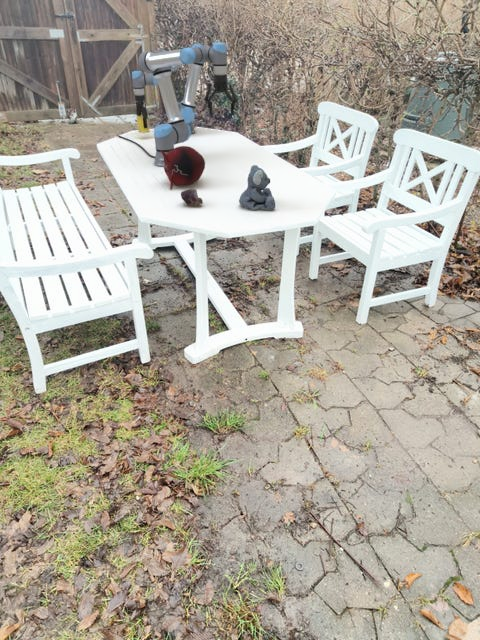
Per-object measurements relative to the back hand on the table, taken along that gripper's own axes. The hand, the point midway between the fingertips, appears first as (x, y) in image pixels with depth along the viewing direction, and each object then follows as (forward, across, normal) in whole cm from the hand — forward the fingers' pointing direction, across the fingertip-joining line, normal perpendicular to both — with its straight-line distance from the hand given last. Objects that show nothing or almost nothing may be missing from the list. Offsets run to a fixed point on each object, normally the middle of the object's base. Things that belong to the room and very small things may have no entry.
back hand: (143, 127), depth 348 cm
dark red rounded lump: (+9, +117, -25) cm, 120 cm away
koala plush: (+9, +171, -12) cm, 171 cm away
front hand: (-23, +104, +9) cm, 106 cm away
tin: (+3, 0, 0) cm, 3 cm away
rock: (+9, +151, -39) cm, 156 cm away
